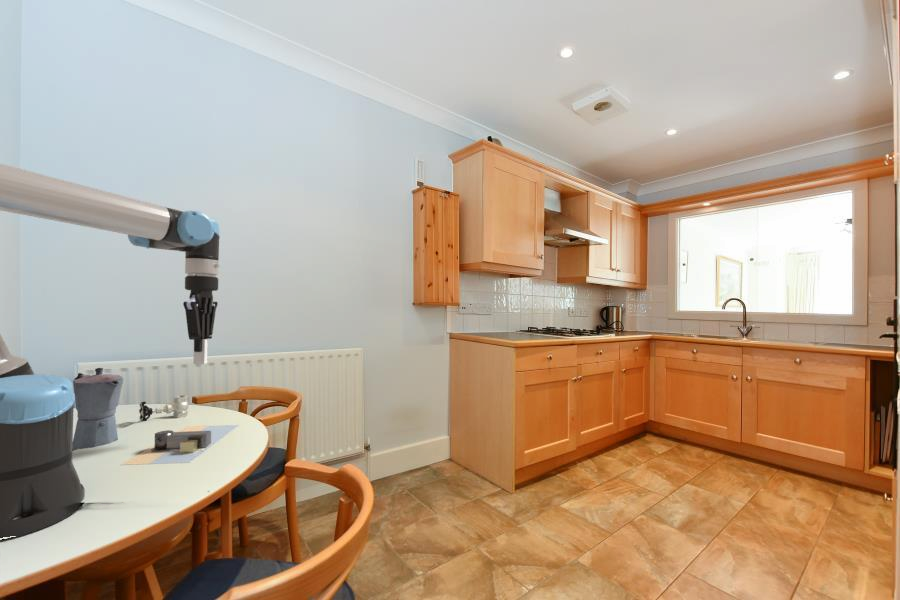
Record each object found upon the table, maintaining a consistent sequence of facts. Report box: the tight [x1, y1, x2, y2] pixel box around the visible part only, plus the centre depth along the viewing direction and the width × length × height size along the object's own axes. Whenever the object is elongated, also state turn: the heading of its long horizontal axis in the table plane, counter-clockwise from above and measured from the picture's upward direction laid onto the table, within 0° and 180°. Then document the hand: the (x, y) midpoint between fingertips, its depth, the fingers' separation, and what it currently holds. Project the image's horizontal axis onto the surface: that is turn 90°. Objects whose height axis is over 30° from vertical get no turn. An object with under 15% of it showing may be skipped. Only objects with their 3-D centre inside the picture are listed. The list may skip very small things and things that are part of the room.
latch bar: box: [153, 430, 211, 450], centre depth 93 cm, size 12×4×4 cm, turn 100°
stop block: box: [180, 440, 197, 453], centre depth 91 cm, size 2×3×2 cm, turn 97°
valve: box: [138, 394, 189, 422], centre depth 119 cm, size 7×7×12 cm
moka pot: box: [72, 367, 124, 452], centre depth 96 cm, size 10×15×20 cm, turn 79°
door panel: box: [120, 424, 240, 466], centre depth 97 cm, size 26×14×1 cm, turn 7°
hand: (200, 363), depth 102 cm, fingers closed
